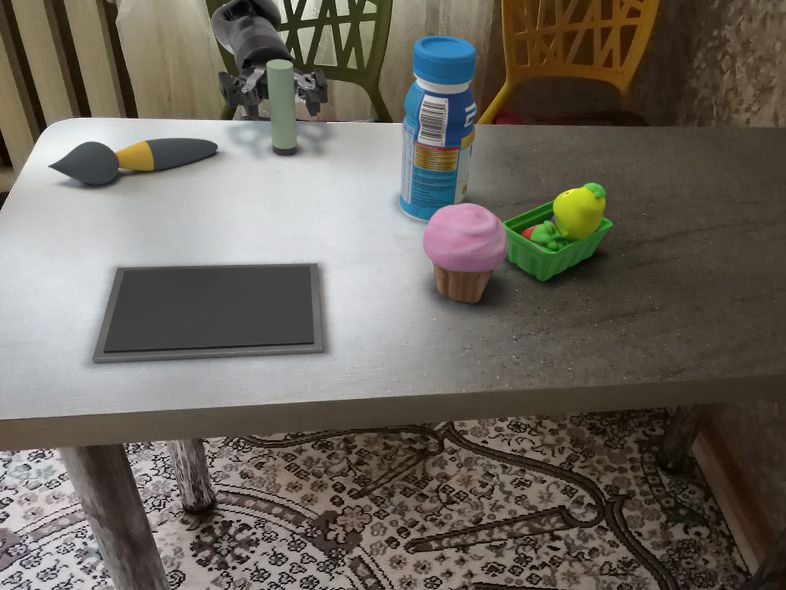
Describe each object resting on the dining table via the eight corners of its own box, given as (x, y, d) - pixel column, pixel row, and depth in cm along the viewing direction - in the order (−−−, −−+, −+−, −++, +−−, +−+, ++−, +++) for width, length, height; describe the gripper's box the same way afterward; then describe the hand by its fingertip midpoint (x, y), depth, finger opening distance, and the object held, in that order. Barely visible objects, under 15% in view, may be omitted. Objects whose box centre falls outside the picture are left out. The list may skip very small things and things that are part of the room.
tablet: (94, 367, 66) (91, 357, 65) (119, 275, 76) (116, 265, 76) (323, 356, 70) (323, 347, 69) (317, 270, 80) (317, 261, 80)
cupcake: (493, 323, 77) (506, 241, 70) (411, 308, 77) (416, 225, 71) (504, 275, 83) (517, 196, 77) (429, 261, 84) (435, 182, 77)
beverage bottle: (384, 202, 93) (390, 37, 80) (438, 186, 97) (452, 27, 84) (424, 234, 88) (438, 65, 75) (479, 216, 92) (500, 53, 79)
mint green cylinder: (278, 161, 98) (272, 70, 90) (269, 150, 100) (262, 60, 92) (301, 157, 99) (297, 67, 91) (291, 146, 101) (287, 58, 93)
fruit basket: (556, 230, 92) (575, 145, 84) (613, 264, 87) (638, 177, 80) (493, 261, 85) (506, 172, 78) (551, 299, 81) (571, 208, 73)
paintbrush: (204, 144, 99) (199, 107, 96) (223, 159, 97) (219, 122, 93) (50, 184, 88) (38, 145, 85) (68, 202, 86) (56, 162, 82)
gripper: (206, 35, 100) (222, 84, 89) (313, 32, 105) (341, 79, 93) (213, 89, 105) (229, 142, 93) (315, 85, 110) (342, 135, 98)
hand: (285, 110), depth 93 cm, fingers open, 6 cm apart
